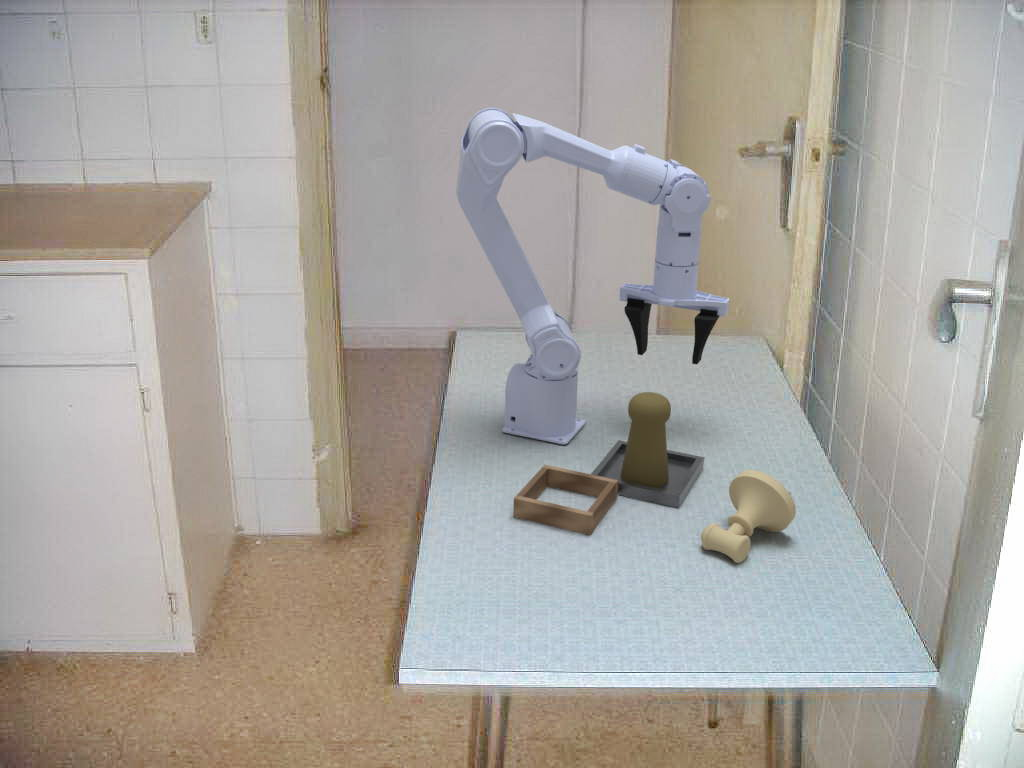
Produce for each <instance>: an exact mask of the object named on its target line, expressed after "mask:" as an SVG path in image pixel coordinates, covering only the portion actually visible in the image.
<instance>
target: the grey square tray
mask: <svg viewBox="0 0 1024 768" xmlns="http://www.w3.org/2000/svg"><path fill="white" fill-rule="evenodd" d="M627 442H628V441H624V440H619V439H618V440H617V442H615V444H614V445H613V446H612V447H611V449H610V450H609V451H608V452H607V454H606V455H605V456H604V457H603V458H602V460H601V461H600V462H599V464H597V466H596V467H595V468H594V470H593V471H592V472H591V473H590V474H591V475H596V476H601V477H605V478H610V479H615V480H618V491H617V496H622V497H627V498H631V499H635V500H640V501H644V502H649V503H653V504H659V505H663V506H667V507H672V508H676V509H679V508H680V507H681V505H682V504H683V502H684V501H685V499H686V497H687V496H688V494H689V492H690V491H691V489H692V488H693V486H694V484H695V483H696V481H697V479H698V477H699V476H700V475H701V472H702V471H703V469H704V466H705V465H704V464H705V457H704V456H699V455H695V454H689V453H684V452H681V451H676V450H675V451H674V450H669V449H667V458H668V474H669V481H668V482H667V483H666V484H665V485H663V486H660V487H656V488H653V487H648V486H644V485H639V484H634V483H630V482H625V481H623V480H622V478H621V471H622V466H623V461H624V456H625V451H626V447H627Z"/></svg>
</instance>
